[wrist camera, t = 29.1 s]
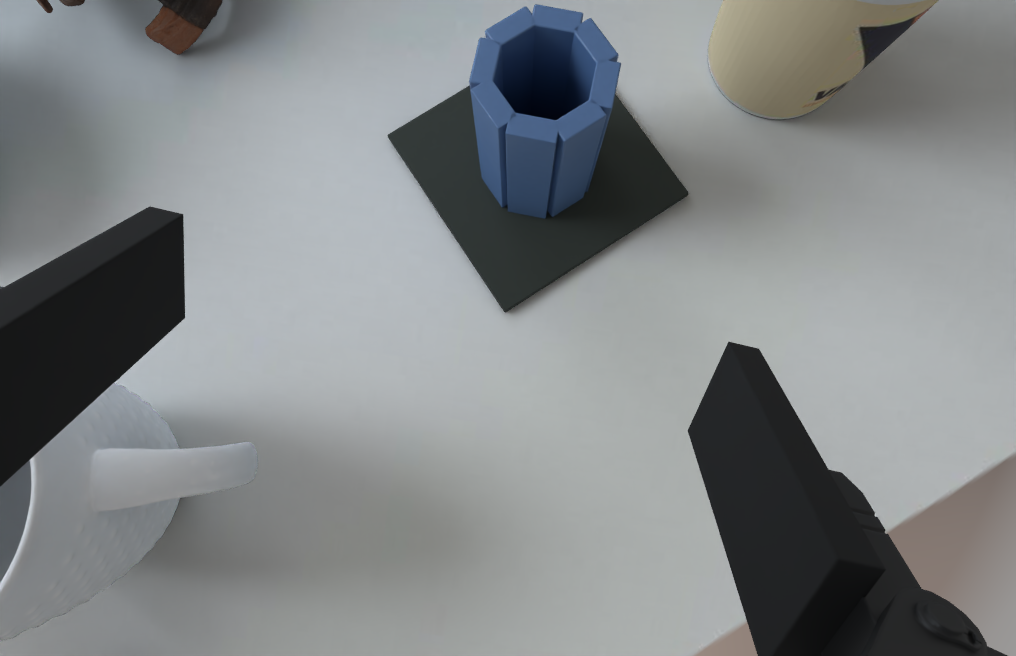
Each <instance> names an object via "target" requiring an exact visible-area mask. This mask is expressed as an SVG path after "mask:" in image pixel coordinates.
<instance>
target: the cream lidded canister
mask: <svg viewBox="0 0 1016 656" xmlns="http://www.w3.org/2000/svg"><path fill="white" fill-rule="evenodd" d="M937 1H938V0H723V2H722V5H721V8H720V10H719V13H718V16H717V19H716V21H715V24H714V27H713V31H712V34H711V37H710V41H709V47H708V63H709V68H710V72H711V75H712V78H713V80H714V81H715V83H716V85H717V87H718V88H719V90H720V91H721V92H722V93H723V95H724V96H725V97H726V98H727V99H728V100H729V101H731V102H732V103H733V104H734V105H736V106H737V107H739V108H740V109H742V110H744V111H746V112H748V113H750V114H753V115H755V116H759V117H763V118H767V119H790V118H795V117H799V116H802V115H804V114H807V113H809V112H811V111H813V110H815V109H817V108H818V107H820V106H821V105H822V104H824V103H825V102H826V101H827V100H828V99H830V98H831V97H832V96H833V95H834V94H836V93H837V92H838V91H839V90H840V89H841V88H842V87H843V86H845V85H846V84H847V83H848V82H849V81H850V80H851V79H852V78H854V77H855V76H856V75H857V74H858V73H859V72H860V71H861V70H862V69H864V68H865V67H866V66H867V65H868V64H869V63H870V62H871V61H872V60H874V59H875V58H876V57H877V56H878V55H879V54H880V53H881V52H882V51H884V50H885V49H886V48H887V47H888V46H889V45H890V44H891V43H893V42H894V41H895V40H896V39H897V38H898V37H899V36H900V35H901V34H903V33H904V32H905V31H906V30H907V29H908V28H909V27H910V26H911V25H913V24H914V23H915V22H916V21H917V20H918V19H919V18H920V17H921V16H922V15H923V14H924V13H925V12H927V11H928V10H929V9H930V8H931V7H932V6H933V5H934V4H935V3H936V2H937Z"/></svg>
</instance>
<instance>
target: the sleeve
mask: <svg viewBox="0 0 1016 656" xmlns="http://www.w3.org/2000/svg"><path fill="white" fill-rule="evenodd" d="M582 19H583V13H581V12H576V11H570V10H565V9H559V8H553V7H548V6H542V5H537V4H535V5H534V9H533V13H531V12H530V11H529V9H528V8H527V7H523V8H522V9H520V10H518V11H517V12H515V13H513V14H512V15H510V16H508V17H507V18H505V19H503V20H502V21H500V22H498V23H497V24H495V25H493V26H492V27H490V28H488V29H487V30H486V31H485V35H486V38H480V39H479V42H478V46H477V50H476V54H475V59H474V63H473V67H472V71H471V75H470V80H469V83H470V91H471V98H472V106H473V114H474V122H475V130H476V138H477V146H478V154H479V162H480V169H481V176H482V179H483V181H484V182H485V184H486V185H487V186H488V188H489V189H490V191H491V192H492V194H493V195H494V197H495V198H496V200H497V201H498V202H499V204H500V205H501V207H504V206H506V205H508V212H513V213H518V214H523V215H529V216H534V217H539V218H544V219H545V218H546V214H547V211H548V212H549V214H550V215H551V216H552V217H554V216H555V215H557V214H558V213H560V212H561V211H563V210H565V209H566V208H568V207H569V206H571V205H573V204H574V203H576V202H577V201H579V200H580V199H582V198H583V197H584V193H585V192H588V189H589V186H590V182H591V179H592V176H593V172H594V169H595V165H596V162H597V159H598V155H599V152H600V148H601V145H602V142H603V138H604V135H605V131H606V128H607V124H608V121H609V118H610V114H611V111H612V107H613V102H614V97H615V92H616V87H617V82H618V77H619V72H620V67H621V63H619V62H617V59H618V53H617V52H616V51H615V49H614V48H613V47H612V45H611V44H610V43H609V41H608V40H607V39H606V37H605V36H604V35H603V33H602V32H601V31H600V30H599V28H598V27H597V26H596V24H595V23H594V22H593V20H592V19H591V18H589V19H587V20H586V21H584V22H582Z"/></svg>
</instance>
